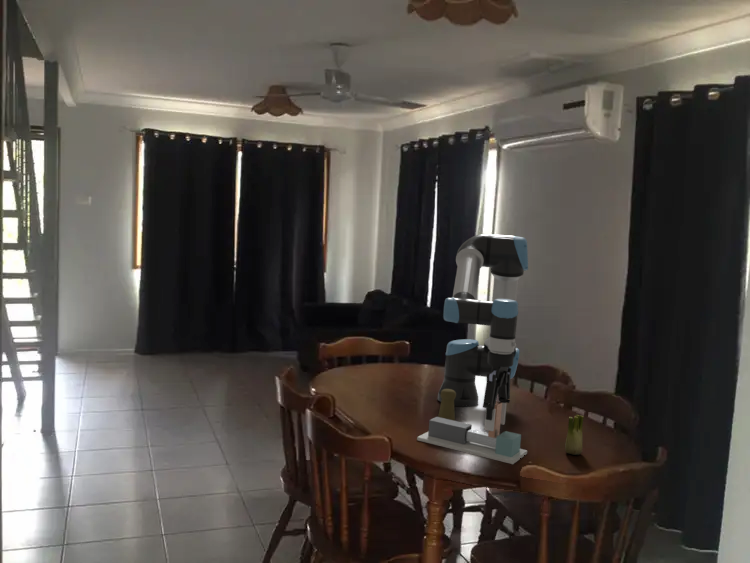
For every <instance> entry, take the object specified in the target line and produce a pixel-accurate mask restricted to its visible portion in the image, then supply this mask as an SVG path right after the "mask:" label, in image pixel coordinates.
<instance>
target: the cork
mask: <svg viewBox="0 0 750 563" xmlns="http://www.w3.org/2000/svg"><path fill="white" fill-rule="evenodd" d="M455 397H456V392H455V391H454V390H452V389H443V390H442V391H441V398H442V401H441V402H440V406H439V410H438V416H437V417H440V418H445V419H449V420H453V421H456V416H455V406H454V399H455Z"/></svg>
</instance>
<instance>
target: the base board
mask: <svg viewBox="0 0 750 563" xmlns="http://www.w3.org/2000/svg"><path fill="white" fill-rule="evenodd" d="M428 432H429V430H428V431H427V432H424V433H423V434H420V435H419V436H417V437H416V440H417V441H419V442H423V443H427V444H431V445H434V446H440V447H443V448H447V449H451V450H454V451H455V450H456V451H458V452H463V453H467V454H470V455H473V456H474V455H475V456H479V457H483V458H487V459H489V460H490V459H491V460H495V461H499V462H503V463H507V464H511V465H514V464H515V463H517V462H518V461H520V460H521V459H522V458H524V457H525V456H526V455H527V454H528V450H526V449H523V448H520V452H518V453H517V454H515V455H514V456H513V457H508V456H504V455H500V454H496V453H495V450H496V448H494V447H490V446H486V445H482V444H478V443H474V442H467V443H465V444H460V443H456V442H451V441H447V440H443V439H439V438H435V437H431V436H428ZM524 455H525V456H524ZM520 458H521V459H520Z"/></svg>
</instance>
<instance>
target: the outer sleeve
mask: <svg viewBox="0 0 750 563" xmlns="http://www.w3.org/2000/svg"><path fill="white" fill-rule="evenodd" d="M428 421H429V422H428V431H429V432H428V431H427V432H428V436H431V437H435V438H439V439H443V440H447V441H451V442H456V443H460V444H465V443H467V442H469V441H465V433H466V429H468V428H470V429H472V426H473V425H472V424H471V423H466V422H462V421H457V420H455V421H453V420H449V419H445V418H440V417H438V416H435V417H433V418H431V419H429V420H428Z"/></svg>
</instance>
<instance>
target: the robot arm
mask: <svg viewBox="0 0 750 563" xmlns="http://www.w3.org/2000/svg"><path fill="white" fill-rule="evenodd" d="M528 251H529V250H528V241H527V238H526V237H523V236H515V235H510V234H509V235H504V234H489V233H481V234H476V235H474V236H472V237H470V238H468V239H467V240H466V241H464V242H463V243H462V244H461V245H460V247H459V248H458V250H457V253H456V254H455V255H456V256H455V262H456V266H457V268H456V274H455V280H454V286H453V292H452V296H451V297H447V298H445V300H444V304H443V320H444V321H445V322H451V323H454V324H470V325H479V326H489V332H488V333H489V334H488V338H486V339H485V340H484V341H483V342H484V343H483V344H480V343H479V340H476V339H472V338H471V339H470V338H468V339H467V338H465V339H456V340H454V339H453V340H451V341H449V342H448V343H447V345H446V350H445V351H446V352H445V362H444V363H445V364H444V375H443V380H442V383H441V386H440V388H439V390H438V394H437V401H439V402H440V403H441V401H442V398H441V391H442V390H443V389H452V390H454V391H455V392H456V397H455V399H454V407H474V406H477V405H478V403H479V393H478V391H477V387H476V377H485V378H486V383H485V390H484V398H483V404H482V408H484V409H485V416H484V428H483V429H484V431H485V430H486V431H494V423H495V412H496V409H494V408H495V403H496V401H497V399H498V402H502V411H501V422H500V425H505V423H506V415H507V412H506V411H507V403H508V404H510V402H511V400H510V399H511V379H513V378H514V377H515V376H516V371H517V369H518V368H517V367H518V365H519V359H520V353H521V352H520V349H519V348H518V347H517V343H516V335H517V334H516V332H517V324H518V316H519V303H518V301H517V297H518V290H519V279H520V278H522V277H523V276H524V271H528V270H529V256H528V254H529V252H528ZM483 267H484V268H490V271H489V272H490V274H491V275H492V276H493V286H492V287H493V288H492V297H491V300H479V299H478V300H477V294H478V288H479V286H478V285H479V279H480V277H479V276H480V270H481V268H483Z"/></svg>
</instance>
